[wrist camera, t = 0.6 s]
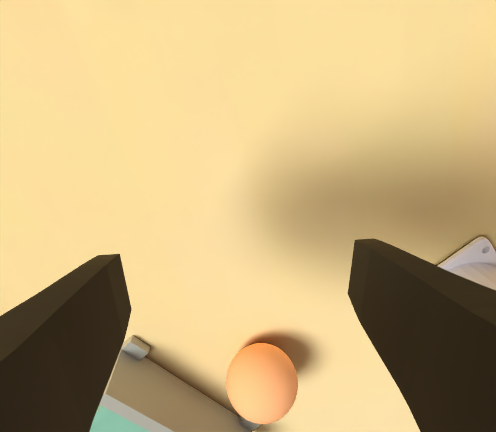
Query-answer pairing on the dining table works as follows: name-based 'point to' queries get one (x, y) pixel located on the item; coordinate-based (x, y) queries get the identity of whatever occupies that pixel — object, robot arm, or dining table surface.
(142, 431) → the coaster
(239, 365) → the ball
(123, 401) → the wall
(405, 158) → the dining table surface
